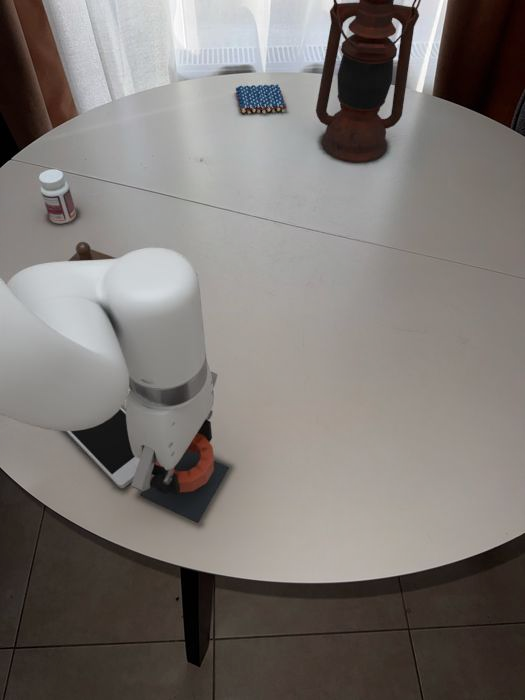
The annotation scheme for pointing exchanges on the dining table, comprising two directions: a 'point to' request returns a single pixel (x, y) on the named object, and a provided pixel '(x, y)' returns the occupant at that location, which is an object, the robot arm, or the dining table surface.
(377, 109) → the lantern
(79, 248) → the ring holder
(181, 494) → the coaster
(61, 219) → the pill bottle
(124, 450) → the smartphone
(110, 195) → the dining table surface
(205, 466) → the ring
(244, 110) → the blue beaded mat
